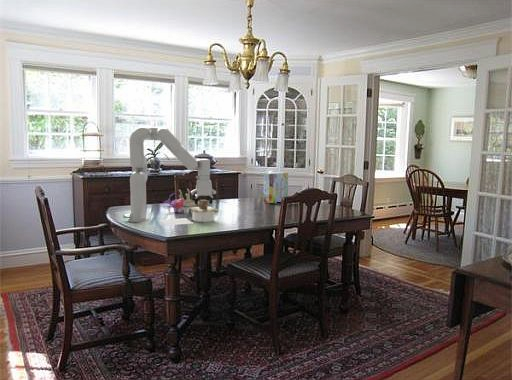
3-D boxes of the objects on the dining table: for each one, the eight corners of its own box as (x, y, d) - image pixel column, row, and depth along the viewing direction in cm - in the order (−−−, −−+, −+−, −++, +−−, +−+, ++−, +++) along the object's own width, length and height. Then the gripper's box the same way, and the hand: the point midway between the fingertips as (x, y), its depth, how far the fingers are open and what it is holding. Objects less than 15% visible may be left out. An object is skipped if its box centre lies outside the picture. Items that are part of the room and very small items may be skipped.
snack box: (281, 200, 378) (282, 171, 375) (287, 202, 372) (289, 172, 368) (262, 202, 364) (263, 172, 361) (269, 204, 358) (270, 173, 355)
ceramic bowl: (196, 223, 272) (197, 212, 271) (190, 219, 283) (190, 208, 282) (216, 221, 277) (216, 211, 277) (209, 218, 289) (209, 208, 288)
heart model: (189, 213, 309) (168, 211, 296) (181, 215, 315) (161, 213, 302) (188, 192, 312) (168, 190, 299) (181, 194, 318) (161, 192, 305)
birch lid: (195, 212, 269) (196, 202, 269) (188, 208, 283) (188, 199, 282) (218, 211, 276) (218, 201, 275) (210, 207, 289) (210, 198, 289)
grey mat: (166, 226, 260) (166, 225, 260) (158, 220, 276) (158, 219, 276) (194, 224, 268) (194, 223, 268) (185, 218, 284) (185, 218, 284)
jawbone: (176, 205, 337) (178, 188, 336) (186, 205, 345) (187, 188, 344) (199, 210, 322) (201, 192, 321) (208, 210, 330) (210, 192, 329)
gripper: (192, 178, 270) (192, 205, 272) (218, 178, 277) (218, 204, 280) (189, 177, 276) (188, 203, 278) (214, 177, 284) (213, 202, 286)
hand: (203, 204), depth 279 cm, fingers open, 9 cm apart
